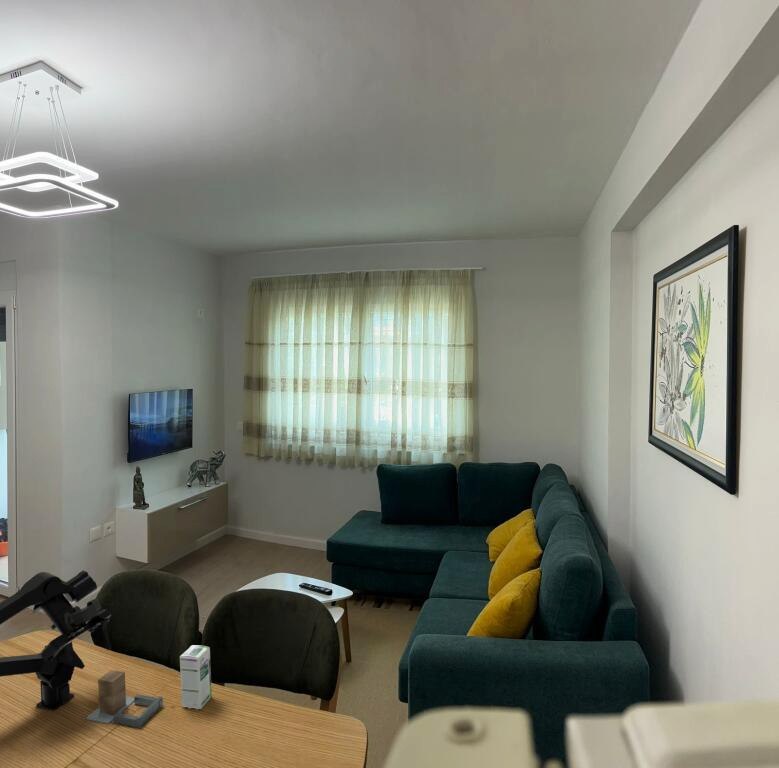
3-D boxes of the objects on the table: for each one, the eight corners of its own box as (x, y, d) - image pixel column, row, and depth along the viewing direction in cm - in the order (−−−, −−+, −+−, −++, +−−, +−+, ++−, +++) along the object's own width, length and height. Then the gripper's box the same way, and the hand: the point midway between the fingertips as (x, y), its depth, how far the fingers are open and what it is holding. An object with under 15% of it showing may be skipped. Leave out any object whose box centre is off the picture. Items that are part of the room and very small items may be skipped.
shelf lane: (113, 723, 138) (113, 713, 138) (137, 701, 147) (137, 692, 147) (139, 728, 136) (139, 718, 136) (162, 705, 145) (162, 696, 145)
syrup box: (200, 710, 143) (199, 657, 142) (180, 707, 144) (179, 655, 143) (212, 696, 148) (210, 646, 148) (192, 694, 150) (191, 643, 149)
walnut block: (99, 712, 142) (98, 679, 141) (112, 701, 146) (110, 669, 146) (113, 715, 141) (112, 682, 140) (126, 704, 145) (124, 672, 145)
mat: (86, 719, 140) (86, 718, 140) (114, 695, 149) (114, 694, 149) (108, 723, 138) (108, 722, 138) (136, 699, 148) (135, 698, 148)
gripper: (48, 611, 135) (86, 659, 133) (104, 580, 153) (138, 622, 151) (24, 637, 138) (61, 685, 135) (82, 604, 156) (116, 646, 154)
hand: (97, 658), depth 144 cm, fingers open, 9 cm apart
